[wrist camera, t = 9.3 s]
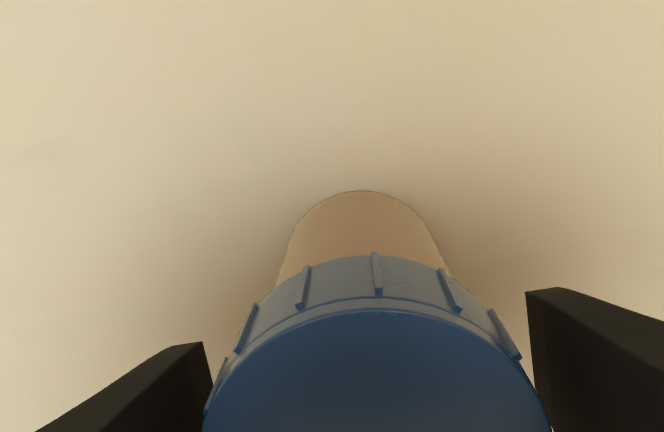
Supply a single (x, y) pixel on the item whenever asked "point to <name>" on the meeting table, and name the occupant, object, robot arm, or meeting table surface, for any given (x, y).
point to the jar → (359, 233)
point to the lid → (373, 357)
